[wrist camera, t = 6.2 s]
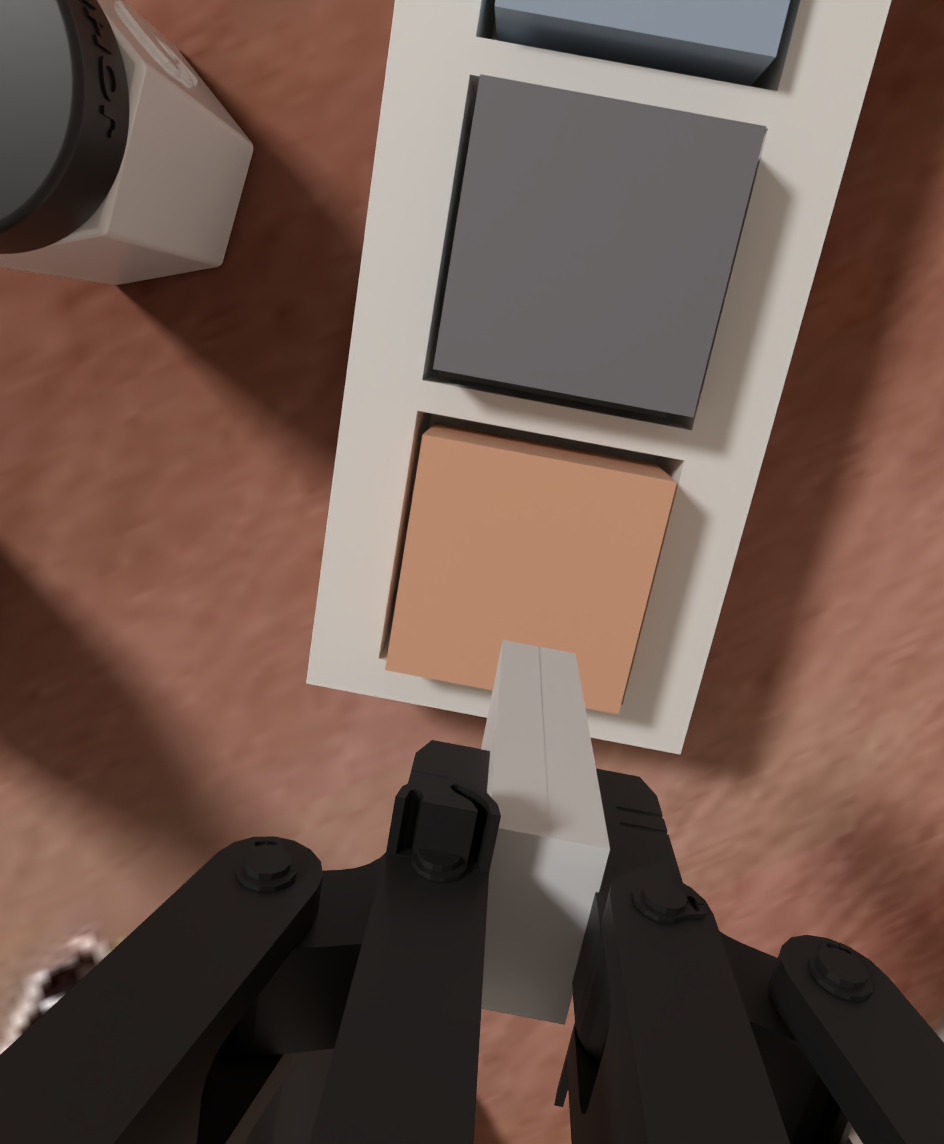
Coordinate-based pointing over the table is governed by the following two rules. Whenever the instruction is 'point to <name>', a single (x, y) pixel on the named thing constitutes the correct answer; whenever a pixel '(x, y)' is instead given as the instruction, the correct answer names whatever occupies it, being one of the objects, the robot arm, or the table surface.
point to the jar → (109, 147)
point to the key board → (674, 442)
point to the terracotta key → (526, 559)
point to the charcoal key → (593, 244)
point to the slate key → (654, 33)
